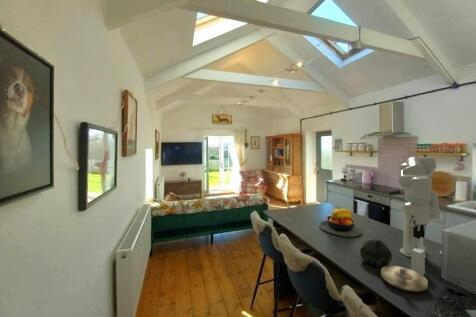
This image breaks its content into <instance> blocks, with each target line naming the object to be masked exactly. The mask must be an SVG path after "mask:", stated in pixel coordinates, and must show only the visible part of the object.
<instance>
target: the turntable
mask: <svg viewBox="0 0 476 317" xmlns="http://www.w3.org/2000/svg"><path fill="white" fill-rule="evenodd" d="M380 275H381V277H382V279H384V281H386V283H388V282H389V283H390V284H392V285H394V286H397V287H399V288H402V289H406V290H411V291H420V292H423V291H427V290H428V287H429V285H428V284H429V282H428V279H427V278H426V277H425V276H424V275H423V276H422V275H421V274H419V273H417V272H415V271H413V270H411V268H406V267H402V266H398V265H387V266H385V267H381V269H380ZM389 283H388V284H389ZM390 284H389V285H390Z"/></svg>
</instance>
